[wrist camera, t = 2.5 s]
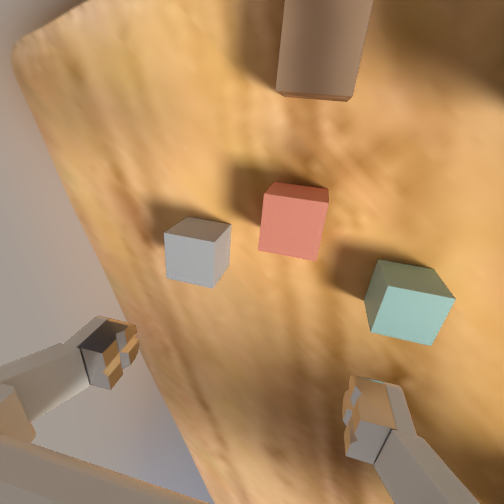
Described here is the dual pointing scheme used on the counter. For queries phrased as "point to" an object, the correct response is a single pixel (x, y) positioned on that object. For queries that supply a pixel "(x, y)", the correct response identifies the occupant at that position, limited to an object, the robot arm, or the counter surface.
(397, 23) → the counter surface
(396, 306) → the muted teal block
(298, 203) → the brick-red block
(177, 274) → the slate grey block
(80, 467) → the robot arm
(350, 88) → the walnut block
